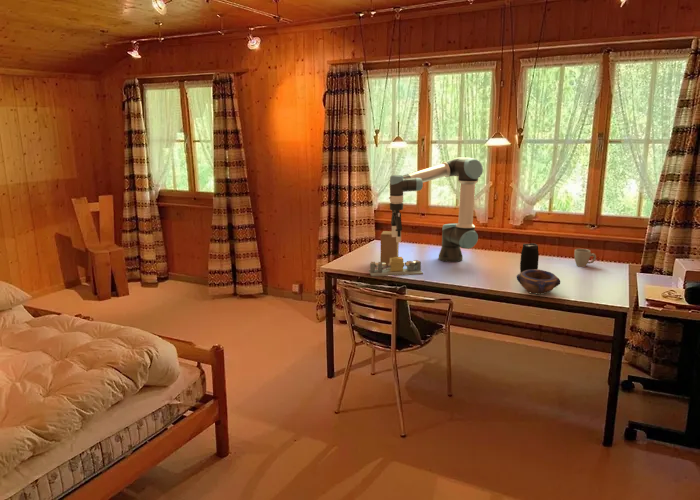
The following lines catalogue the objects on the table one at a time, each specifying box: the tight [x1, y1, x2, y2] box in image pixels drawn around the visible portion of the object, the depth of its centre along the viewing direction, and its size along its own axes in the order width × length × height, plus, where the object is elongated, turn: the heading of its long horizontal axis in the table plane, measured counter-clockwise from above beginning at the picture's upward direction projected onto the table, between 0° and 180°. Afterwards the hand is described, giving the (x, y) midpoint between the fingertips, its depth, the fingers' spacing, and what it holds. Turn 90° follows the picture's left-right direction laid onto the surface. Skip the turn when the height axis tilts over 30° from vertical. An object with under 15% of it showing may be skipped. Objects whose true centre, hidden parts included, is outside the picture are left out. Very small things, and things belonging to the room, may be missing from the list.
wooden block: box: [379, 230, 400, 267], centre depth 321 cm, size 10×10×20 cm
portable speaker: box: [519, 242, 540, 273], centre depth 288 cm, size 9×9×20 cm
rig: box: [368, 267, 424, 277], centre depth 304 cm, size 30×10×2 cm, turn 96°
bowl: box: [516, 268, 561, 295], centre depth 266 cm, size 18×18×10 cm
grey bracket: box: [369, 261, 387, 273], centre depth 303 cm, size 9×4×6 cm, turn 81°
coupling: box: [387, 256, 405, 272], centre depth 303 cm, size 9×5×8 cm, turn 96°
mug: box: [574, 248, 597, 268], centre depth 315 cm, size 12×9×10 cm
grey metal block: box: [404, 259, 422, 272], centre depth 305 cm, size 9×4×6 cm, turn 111°
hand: (396, 239), depth 299 cm, fingers open, 13 cm apart
